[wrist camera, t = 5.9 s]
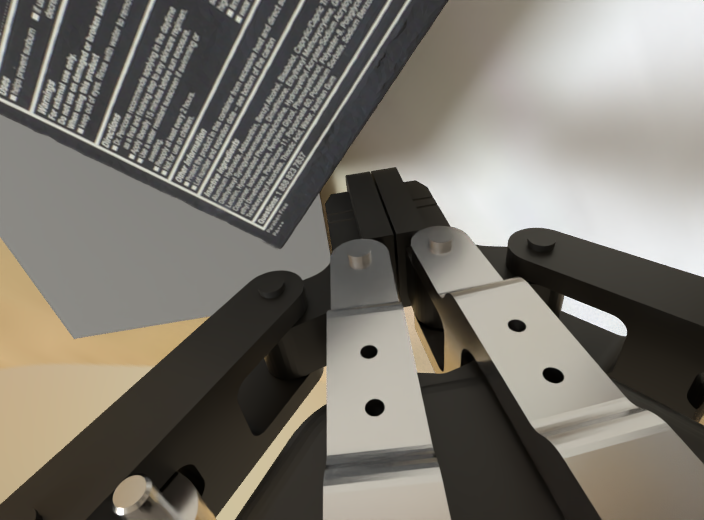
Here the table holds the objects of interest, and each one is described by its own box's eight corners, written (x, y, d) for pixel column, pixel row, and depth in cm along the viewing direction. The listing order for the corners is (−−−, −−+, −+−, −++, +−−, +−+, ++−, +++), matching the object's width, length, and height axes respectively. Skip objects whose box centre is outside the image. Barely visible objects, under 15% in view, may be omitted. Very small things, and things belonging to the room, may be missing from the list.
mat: (249, -201, 13) (248, -209, 13) (336, 286, 25) (337, 295, 25) (-246, -138, 13) (-274, -142, 12) (79, 328, 25) (74, 338, 24)
